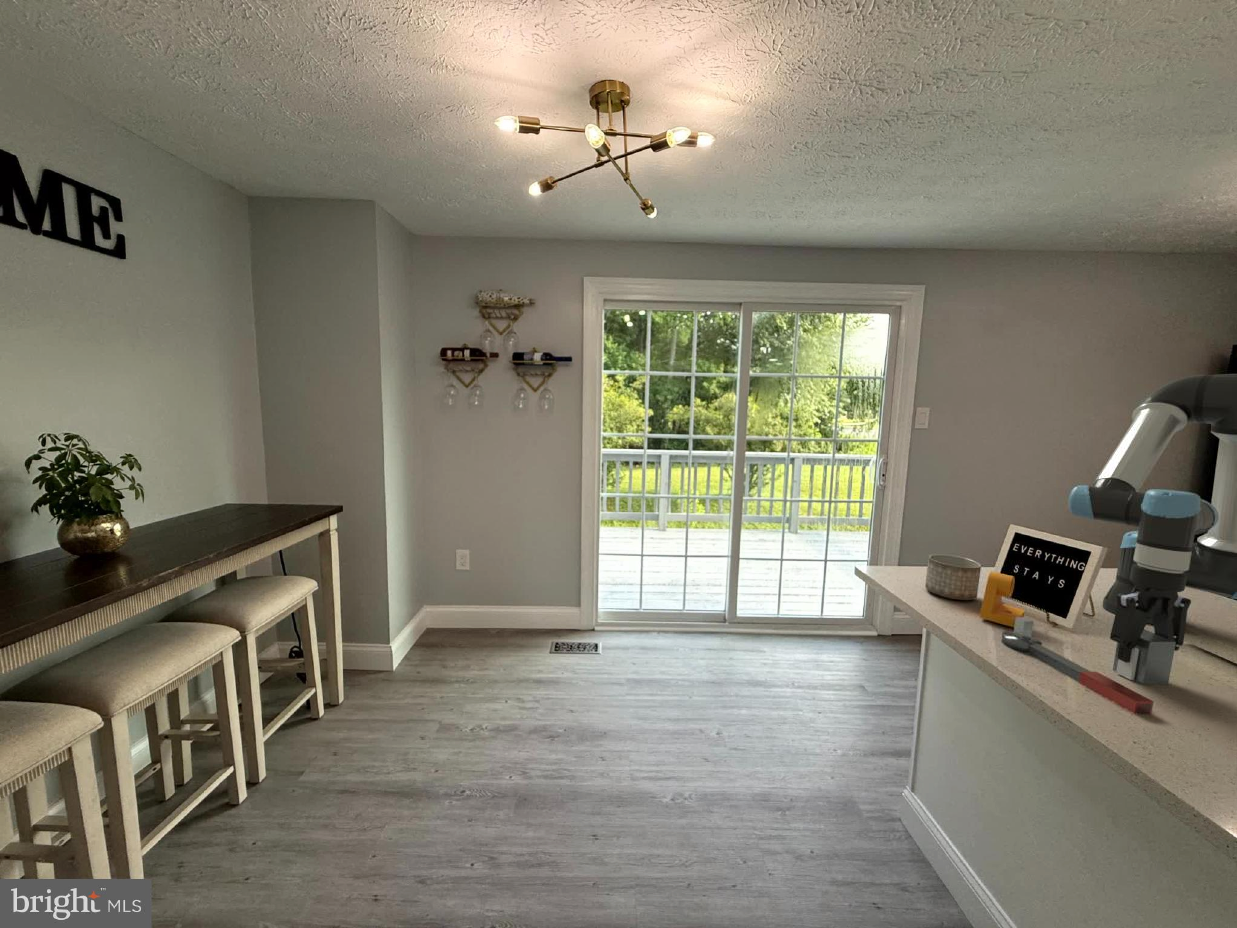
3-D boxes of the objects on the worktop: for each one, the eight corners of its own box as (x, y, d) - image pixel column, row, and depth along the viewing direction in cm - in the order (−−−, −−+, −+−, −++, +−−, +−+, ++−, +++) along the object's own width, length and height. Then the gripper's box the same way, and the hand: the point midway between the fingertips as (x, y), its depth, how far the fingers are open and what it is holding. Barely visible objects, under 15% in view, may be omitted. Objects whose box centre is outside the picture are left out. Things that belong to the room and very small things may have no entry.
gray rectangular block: (1137, 669, 105) (1144, 629, 104) (1168, 684, 99) (1175, 641, 98) (1112, 669, 104) (1119, 629, 103) (1142, 684, 99) (1150, 641, 98)
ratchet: (993, 639, 117) (997, 612, 116) (1021, 639, 117) (1025, 612, 116) (1124, 714, 89) (1130, 679, 88) (1160, 713, 89) (1166, 679, 88)
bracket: (1014, 630, 122) (1021, 583, 120) (979, 620, 127) (985, 575, 126) (1024, 619, 129) (1030, 575, 127) (990, 610, 134) (996, 567, 133)
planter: (987, 604, 138) (992, 568, 137) (942, 602, 139) (946, 566, 137) (957, 588, 151) (961, 554, 150) (915, 586, 151) (919, 553, 150)
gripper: (1180, 562, 103) (1161, 666, 106) (1096, 560, 102) (1078, 666, 105) (1226, 574, 96) (1204, 686, 99) (1136, 572, 94) (1116, 686, 97)
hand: (1140, 676), depth 102 cm, fingers open, 6 cm apart
